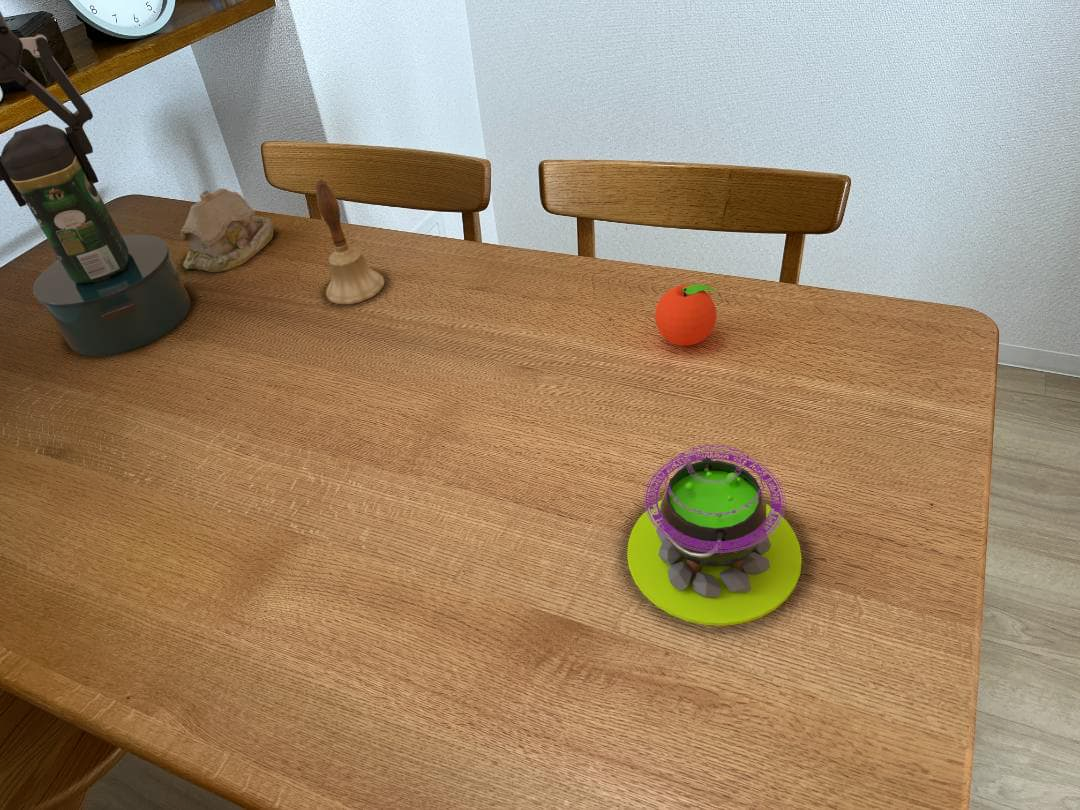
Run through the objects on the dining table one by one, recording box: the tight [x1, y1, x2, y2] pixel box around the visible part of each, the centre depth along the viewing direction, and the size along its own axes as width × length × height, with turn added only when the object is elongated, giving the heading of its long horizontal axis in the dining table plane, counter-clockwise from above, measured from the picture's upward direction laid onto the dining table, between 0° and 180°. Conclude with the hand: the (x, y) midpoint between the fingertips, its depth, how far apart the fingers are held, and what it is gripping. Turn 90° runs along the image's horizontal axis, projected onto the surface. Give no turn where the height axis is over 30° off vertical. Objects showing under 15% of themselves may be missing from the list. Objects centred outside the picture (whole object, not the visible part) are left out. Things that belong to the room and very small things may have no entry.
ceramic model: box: [180, 188, 274, 273], centre depth 124 cm, size 14×11×10 cm
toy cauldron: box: [626, 444, 803, 627], centre depth 67 cm, size 15×15×11 cm
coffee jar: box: [0, 123, 129, 283], centre depth 103 cm, size 10×8×19 cm
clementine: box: [654, 284, 722, 347], centre depth 92 cm, size 8×7×7 cm
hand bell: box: [315, 179, 385, 305], centre depth 108 cm, size 8×8×16 cm
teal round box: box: [32, 234, 191, 357], centre depth 112 cm, size 18×21×9 cm
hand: (58, 190), depth 102 cm, fingers closed on coffee jar, 8 cm apart
